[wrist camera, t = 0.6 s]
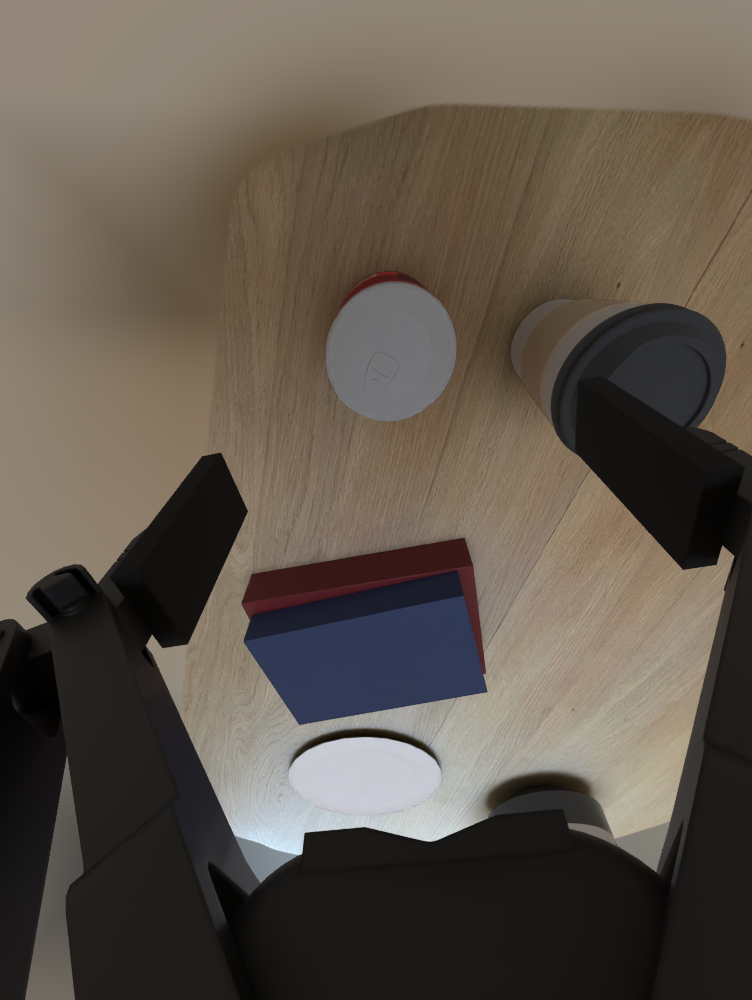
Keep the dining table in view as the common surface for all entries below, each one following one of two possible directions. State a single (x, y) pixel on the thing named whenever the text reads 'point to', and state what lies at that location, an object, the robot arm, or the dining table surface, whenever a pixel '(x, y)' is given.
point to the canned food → (390, 348)
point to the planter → (576, 807)
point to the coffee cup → (619, 357)
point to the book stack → (368, 631)
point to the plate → (365, 775)
